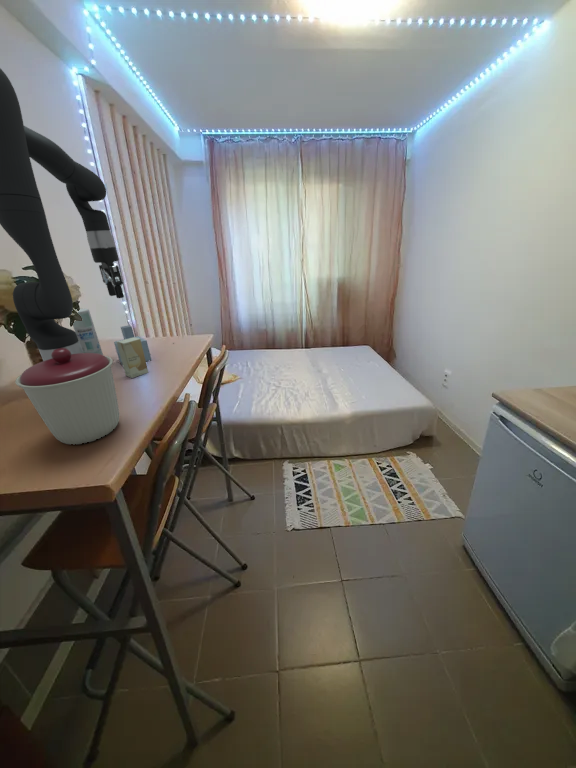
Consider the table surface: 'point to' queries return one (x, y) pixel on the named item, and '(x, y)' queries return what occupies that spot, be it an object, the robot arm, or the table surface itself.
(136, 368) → the skincare box
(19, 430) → the table surface
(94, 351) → the tall pale blue carton
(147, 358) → the blue stepped block
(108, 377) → the canister
